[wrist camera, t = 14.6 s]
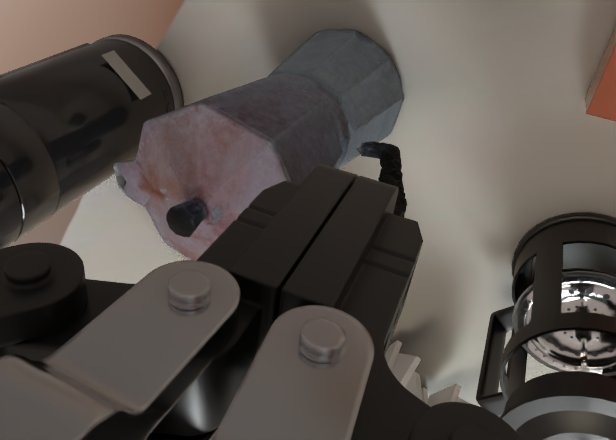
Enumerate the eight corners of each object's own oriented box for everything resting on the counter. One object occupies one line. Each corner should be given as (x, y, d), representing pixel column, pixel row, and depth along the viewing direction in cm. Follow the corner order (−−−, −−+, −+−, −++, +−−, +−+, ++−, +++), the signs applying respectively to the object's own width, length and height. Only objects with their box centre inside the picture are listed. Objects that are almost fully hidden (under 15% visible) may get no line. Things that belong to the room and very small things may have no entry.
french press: (628, 185, 37) (684, 498, 19) (694, 294, 39) (803, 674, 21) (468, 251, 44) (394, 528, 25) (531, 341, 46) (504, 658, 27)
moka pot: (241, 22, 41) (35, 119, 25) (460, 14, 35) (372, 134, 20) (260, 145, 46) (96, 293, 30) (456, 156, 40) (383, 345, 24)
